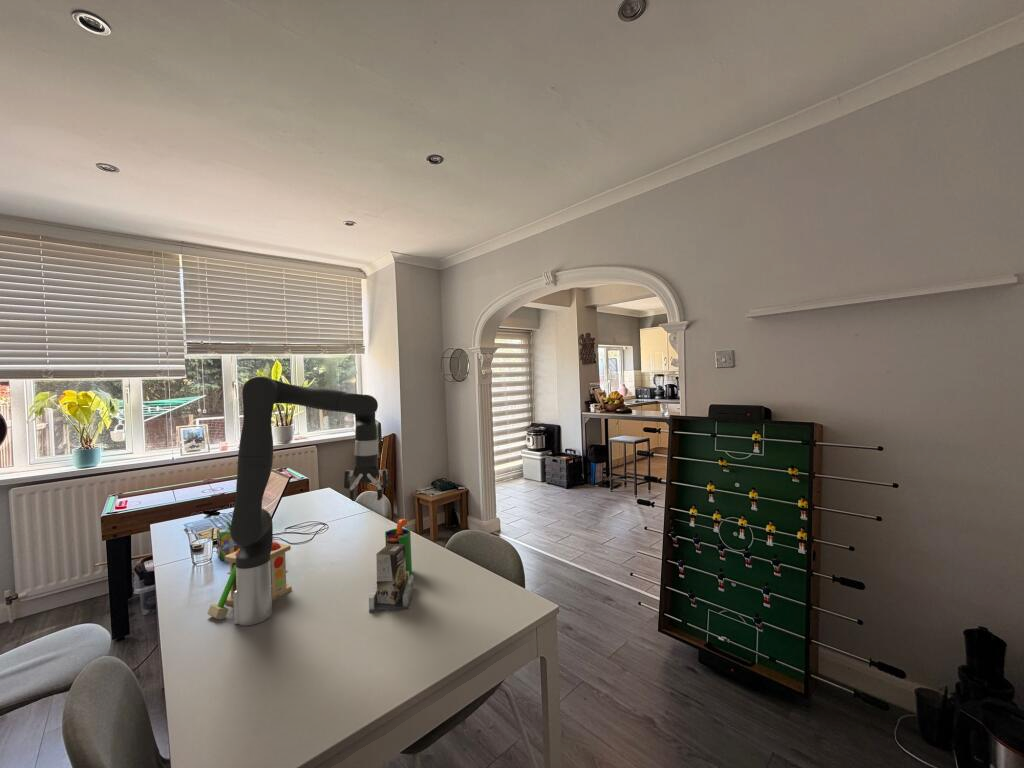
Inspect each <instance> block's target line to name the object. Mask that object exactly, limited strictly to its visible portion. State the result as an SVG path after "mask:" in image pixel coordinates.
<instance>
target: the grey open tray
mask: <svg viewBox="0 0 1024 768" xmlns="http://www.w3.org/2000/svg"><path fill="white" fill-rule="evenodd" d="M414 583H415V580H414V575H413V574H411V575H409V571H406V587H405V590H404V593H403V595H402V596H401V598H400V599H399V600H398V601H397V602H396V603H395V604H383V603H377V581H376V582H375V584H374V586H373V587H372V590H371V592H370V595H368V613H378V612H391V611H403V610H404V611H405V610H409V607H410V603H411V599H412V596H413V592H414V588H415V586H414V585H415V584H414Z"/></svg>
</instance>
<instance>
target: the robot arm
mask: <svg viewBox="0 0 1024 768" xmlns="http://www.w3.org/2000/svg"><path fill="white" fill-rule="evenodd" d="M241 393H242V394H241V395H242V405H243V407H242V408H243V409H242V412H243V413H242V414H243V418H242V419H243V421H242V428H241V434H240V438H239V446H238V454H237V455H238V457H237V468H236V469H237V473H236V487H235V499H234V500H235V502H234V507H233V512H232V517H231V522H230V525H231V527H230V534H231V537H232V539H233V541H234V542H235V543H236V544H238V545H240V549H239V552H238V554H237V556H236V591H235V592H234V593H233V600H234V606H233V624H234V625H236V624H237V625H240V626H243V627H244V626H247V627H248V626H252V625H253V626H254V625H256V624H260V623H263V622H264V621H266V620H267V619H269V618H270V617H271V616H272V614H273V605H272V604H273V601H272V593H271V562H270V554H271V550H272V543H273V542H274V539H273V534H274V533H273V531H274V528H273V519H272V516H271V513H270V512H269V511H267V510H266V509H264V508H263V498H264V493H265V490H266V488H267V486H268V482H269V480H270V477H271V475H272V470H273V463H274V462H273V460H274V437H273V431H272V430H273V429H272V417H273V411H274V404H287V405H297V406H301V407H302V406H303V407H307V408H311V409H316V410H321V411H328V412H336V413H349V414H353V415H354V418H355V419H354V421H355V429H354V430H355V431H354V433H355V434H354V437H355V438H354V439H355V440H354V441H355V442H354V470H351V469H347V470H345V471H344V479H343V480H344V481H343V488H344V489H348V490H349V499H350V500H351V502H355V501H356V500H357V499H356V498H357V497H356V494H357V493H356V487H357V486H358V484H359V483H360V484H366V483H367V484H371V483H372V484H373V485H374V486H375V487H376V489H377V491H376V492H377V493H376V496H377V498H376V499H377V501H380V500H381V499H382V498H383V496H384V494H383V492H384V489H386V488H387V487H388V486H389V475H388V473H389V471H388V469H387V468H384V469H379V463H378V462H379V459H378V458H379V454H378V453H379V447H378V427H377V423H376V412H377V410H378V407H379V404H378V401H377V399H376V398H375V397H374V396H372V395H370V394H360V393H351V392H346V391H342V390H336V389H330V388H322V387H321V388H320V387H311V386H303V385H295V384H289V383H286V382H284V381H283V382H282V381H281V380H280V381H279V380H276V379H274V378H271V377H269V376H265V375H256V376H253V377H251V378H249V379H247V380H246V381H245V382H244V384H243V387H242V392H241ZM378 475H380V477H382V482H381V479H379V478H378ZM352 476H354V477H355V480H354V481H353V483H352V484H351V477H352Z"/></svg>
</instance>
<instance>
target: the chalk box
mask: <svg viewBox="0 0 1024 768" xmlns="http://www.w3.org/2000/svg"><path fill="white" fill-rule="evenodd" d="M226 524H227V526H225V527H222V528H217V529H216V543H217V544H216V545H217V557H218V558H219V560H220V561H221V562H224V561H225V556H226V555H228V554H231V553H233V552H236V551H237V550H238V549H239V548H240V545H238V544H236V543H235V542H234V541H233V539H232V537H231V534H230V527H231V522H229V521H228V520H226ZM225 562H226V561H225Z"/></svg>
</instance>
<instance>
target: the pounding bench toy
mask: <svg viewBox="0 0 1024 768" xmlns="http://www.w3.org/2000/svg"><path fill="white" fill-rule="evenodd" d="M291 547H292V546H291V544H290V545H289V544H285V543H278V542H277V541H273V543H272V550H271V554H270V562H271V593H272V602H273V601H274V600H277V599H279V598H280V597H282V596H284V595H286V594H288V593H289V592H291V591H292V589H293V587H292V585H290V584H287V574H288V572H289V569H287V566H286V563H287V562H286V553H287V552H289V551H290V550H291V549H292V548H291ZM239 549H240V548H239ZM239 549H238V550H237V551H236V552H233V553H231V554H228V555H226V556H225V562H229V564H230V567H229V571H228V572H227V575H229V577H228V580H227V582H226V584H225V586H224V590H223V591H222V594H221V596H220V598H219V601H218V603H217V604H211V605H210V606H209V609H208V611H207V615H208V616H210V617H212V618H215V619H216V620H223V619H225V618H226V617H227V614H228V612H229V608H228V607H227V606H225V605H228V606H233V607H234V600H233V593H234V592H235V591H236V556H237V554H238V552H239Z"/></svg>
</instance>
